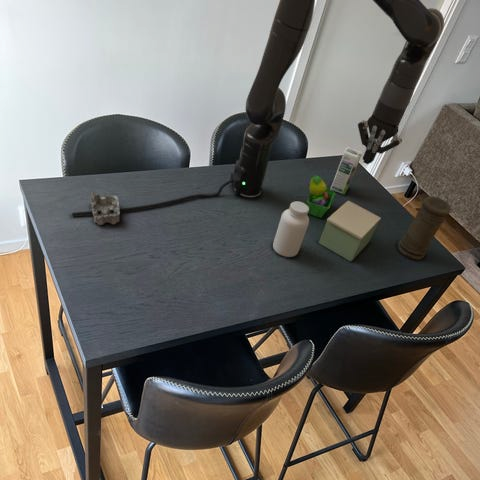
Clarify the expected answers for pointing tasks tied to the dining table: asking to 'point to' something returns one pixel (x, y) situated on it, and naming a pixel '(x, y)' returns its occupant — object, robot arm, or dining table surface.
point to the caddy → (344, 241)
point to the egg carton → (105, 209)
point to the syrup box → (346, 170)
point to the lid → (354, 219)
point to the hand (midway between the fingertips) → (366, 162)
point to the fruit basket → (319, 197)
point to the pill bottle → (291, 229)
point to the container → (424, 227)
